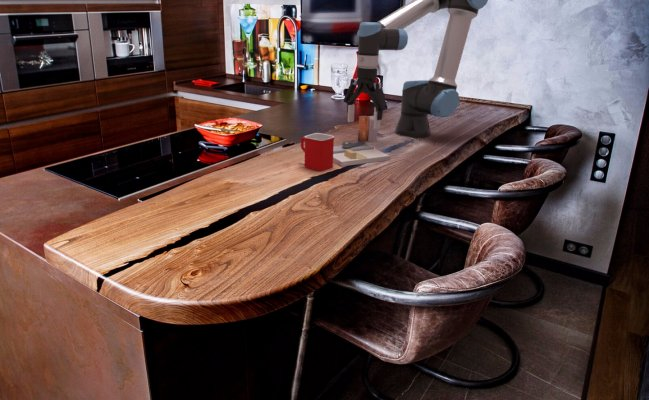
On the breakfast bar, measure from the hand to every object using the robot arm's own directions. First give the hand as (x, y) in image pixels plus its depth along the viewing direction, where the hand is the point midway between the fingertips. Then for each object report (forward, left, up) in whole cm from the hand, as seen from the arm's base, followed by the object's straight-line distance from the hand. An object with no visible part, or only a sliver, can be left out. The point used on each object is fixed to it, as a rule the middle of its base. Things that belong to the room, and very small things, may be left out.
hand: (363, 125), depth 186 cm
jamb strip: (+7, +1, -10) cm, 12 cm away
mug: (+26, +10, -10) cm, 29 cm away
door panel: (+7, +10, -10) cm, 16 cm away
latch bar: (+4, +1, -7) cm, 8 cm away
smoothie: (-12, -11, -10) cm, 19 cm away
